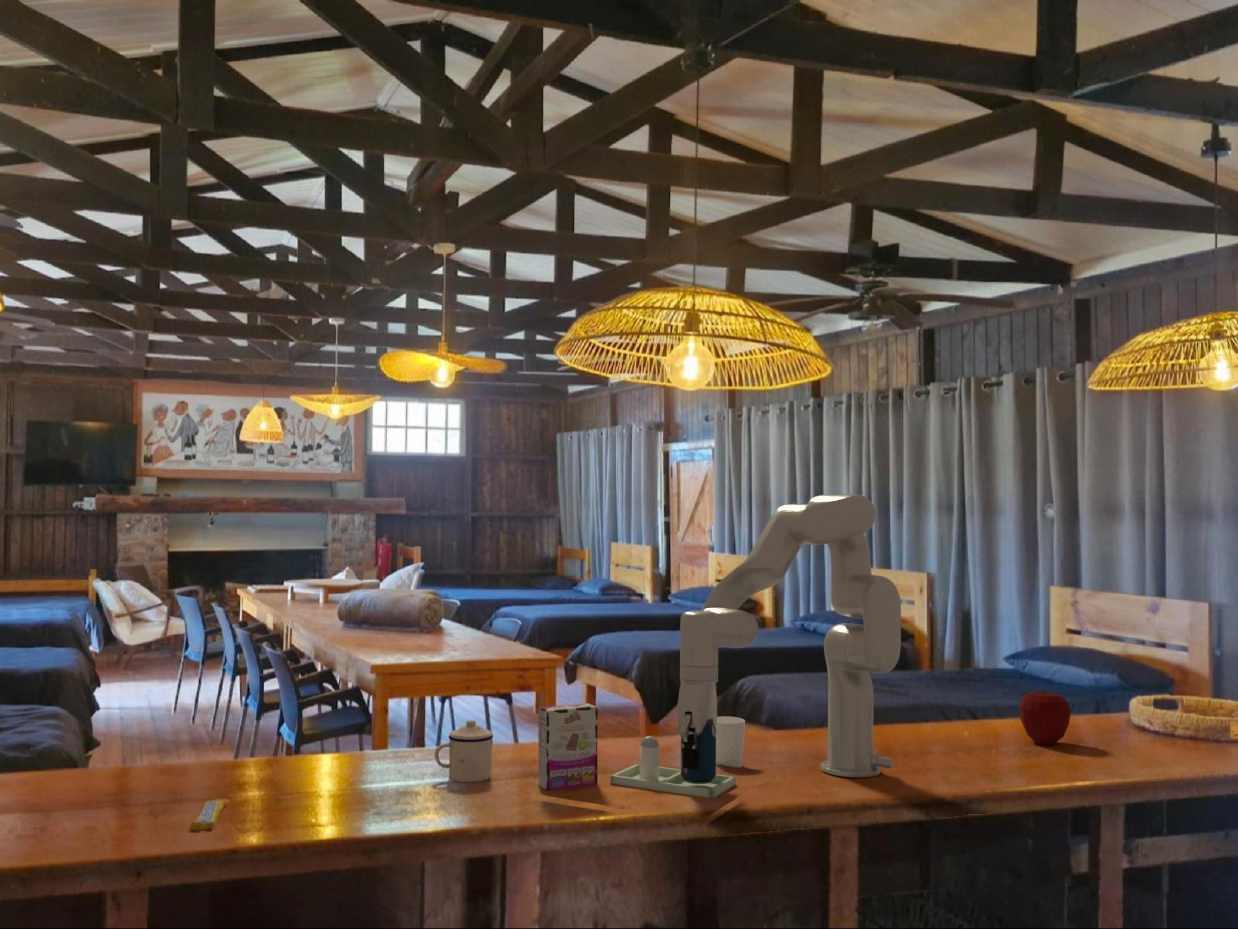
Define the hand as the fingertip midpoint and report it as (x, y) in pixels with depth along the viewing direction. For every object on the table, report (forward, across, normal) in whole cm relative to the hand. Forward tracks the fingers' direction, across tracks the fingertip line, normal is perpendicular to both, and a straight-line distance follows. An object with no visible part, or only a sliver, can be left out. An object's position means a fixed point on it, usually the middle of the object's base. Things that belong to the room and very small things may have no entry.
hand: (698, 763), depth 212 cm
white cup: (+6, -24, -3) cm, 25 cm away
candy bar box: (+6, +11, -23) cm, 27 cm away
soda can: (+3, 0, 0) cm, 3 cm away
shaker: (+5, 0, -11) cm, 12 cm away
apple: (+6, -86, +56) cm, 102 cm away
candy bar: (+6, +60, -69) cm, 91 cm away
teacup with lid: (+6, +14, -46) cm, 49 cm away
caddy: (+6, 0, -5) cm, 8 cm away
